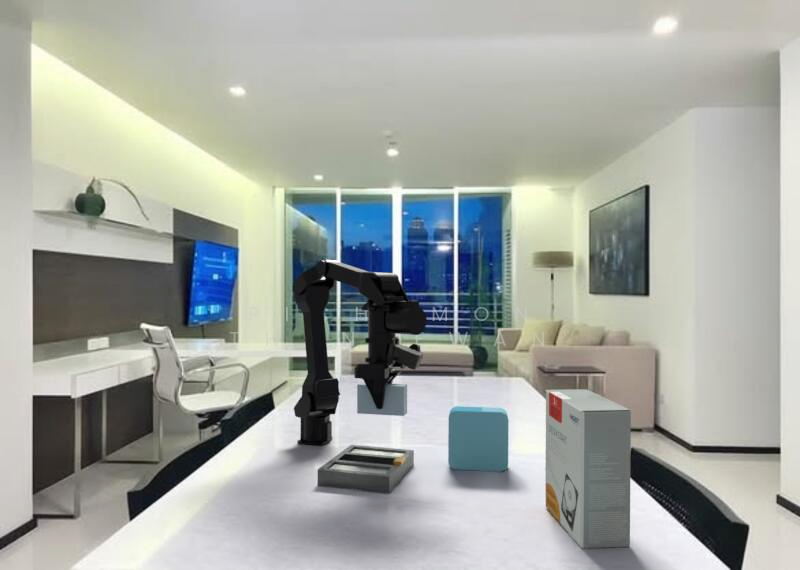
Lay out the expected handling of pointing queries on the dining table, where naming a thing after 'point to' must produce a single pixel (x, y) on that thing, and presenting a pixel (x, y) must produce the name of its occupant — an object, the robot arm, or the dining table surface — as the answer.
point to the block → (392, 400)
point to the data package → (478, 439)
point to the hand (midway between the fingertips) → (381, 407)
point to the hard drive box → (588, 467)
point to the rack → (366, 468)
